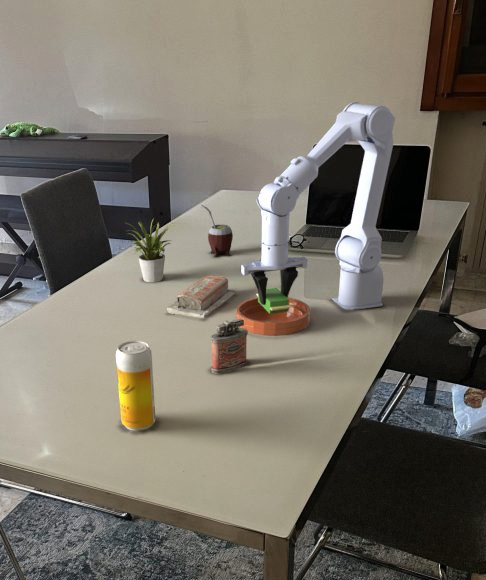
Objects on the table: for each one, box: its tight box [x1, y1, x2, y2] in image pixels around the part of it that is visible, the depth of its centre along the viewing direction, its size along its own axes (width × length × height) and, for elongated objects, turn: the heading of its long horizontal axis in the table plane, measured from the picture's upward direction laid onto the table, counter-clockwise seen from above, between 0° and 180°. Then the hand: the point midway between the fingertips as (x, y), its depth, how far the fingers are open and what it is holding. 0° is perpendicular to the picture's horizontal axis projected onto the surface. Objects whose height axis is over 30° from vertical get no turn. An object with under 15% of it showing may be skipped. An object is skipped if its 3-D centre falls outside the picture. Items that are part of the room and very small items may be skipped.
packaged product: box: [166, 274, 237, 319], centre depth 179 cm, size 18×5×10 cm
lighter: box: [210, 318, 249, 375], centre depth 147 cm, size 8×3×10 cm, turn 117°
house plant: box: [125, 219, 175, 283], centre depth 195 cm, size 14×14×16 cm
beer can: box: [115, 340, 156, 432], centre depth 128 cm, size 6×6×15 cm
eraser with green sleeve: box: [255, 287, 291, 314], centre depth 165 cm, size 4×10×3 cm, turn 11°
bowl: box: [235, 296, 311, 336], centre depth 167 cm, size 16×16×4 cm
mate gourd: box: [200, 204, 234, 258], centre depth 210 cm, size 8×8×15 cm
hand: (273, 301), depth 165 cm, fingers closed on eraser with green sleeve, 4 cm apart
